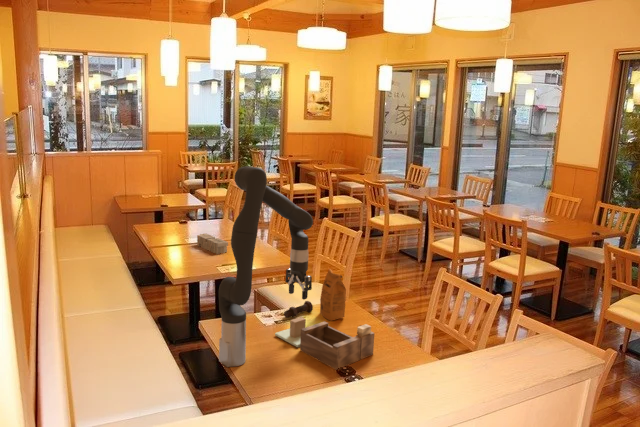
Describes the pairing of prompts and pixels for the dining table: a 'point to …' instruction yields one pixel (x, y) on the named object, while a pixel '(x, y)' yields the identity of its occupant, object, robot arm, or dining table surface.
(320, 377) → the dining table surface
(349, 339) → the wooden box frame
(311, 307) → the bolt
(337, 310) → the coffee package
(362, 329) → the tan wooden block
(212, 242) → the block tower
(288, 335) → the lid
